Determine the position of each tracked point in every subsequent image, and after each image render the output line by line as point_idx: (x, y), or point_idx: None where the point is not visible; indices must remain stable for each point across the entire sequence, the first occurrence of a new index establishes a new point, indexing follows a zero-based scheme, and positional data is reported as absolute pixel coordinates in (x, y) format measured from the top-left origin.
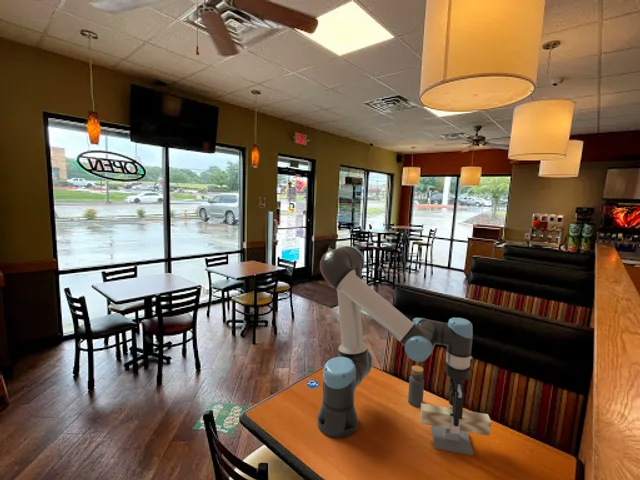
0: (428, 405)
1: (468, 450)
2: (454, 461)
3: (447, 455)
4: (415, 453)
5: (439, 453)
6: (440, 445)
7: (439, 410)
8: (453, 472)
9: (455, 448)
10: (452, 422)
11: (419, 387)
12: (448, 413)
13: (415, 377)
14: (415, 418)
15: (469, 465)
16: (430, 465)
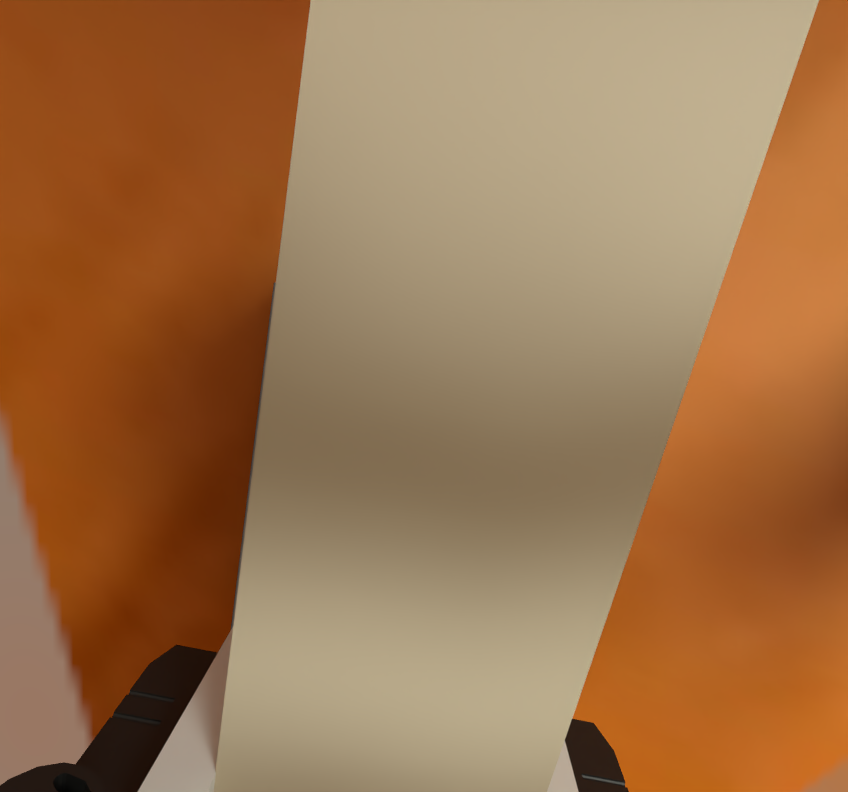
0: (660, 231)
1: (234, 607)
2: (144, 427)
3: (209, 386)
4: (173, 12)
5: (222, 312)
6: (267, 346)
7: (392, 535)
8: (6, 369)
9: (248, 494)
10: (218, 661)
11: None
12: (285, 729)
13: None
14: (795, 186)
15: (125, 541)
16: (34, 155)
